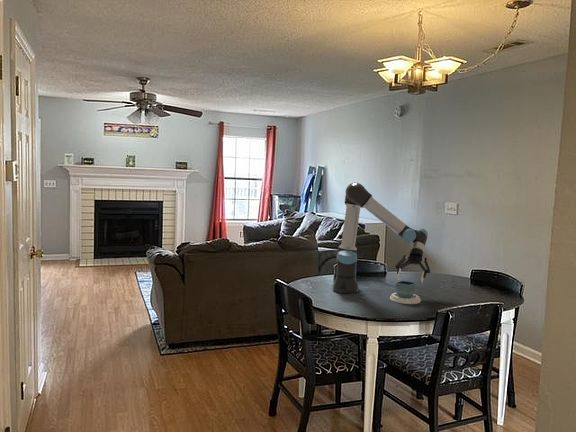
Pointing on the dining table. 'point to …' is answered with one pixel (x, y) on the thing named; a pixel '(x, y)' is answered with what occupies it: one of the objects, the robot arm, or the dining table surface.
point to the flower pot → (405, 289)
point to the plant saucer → (405, 299)
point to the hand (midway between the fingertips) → (409, 280)
